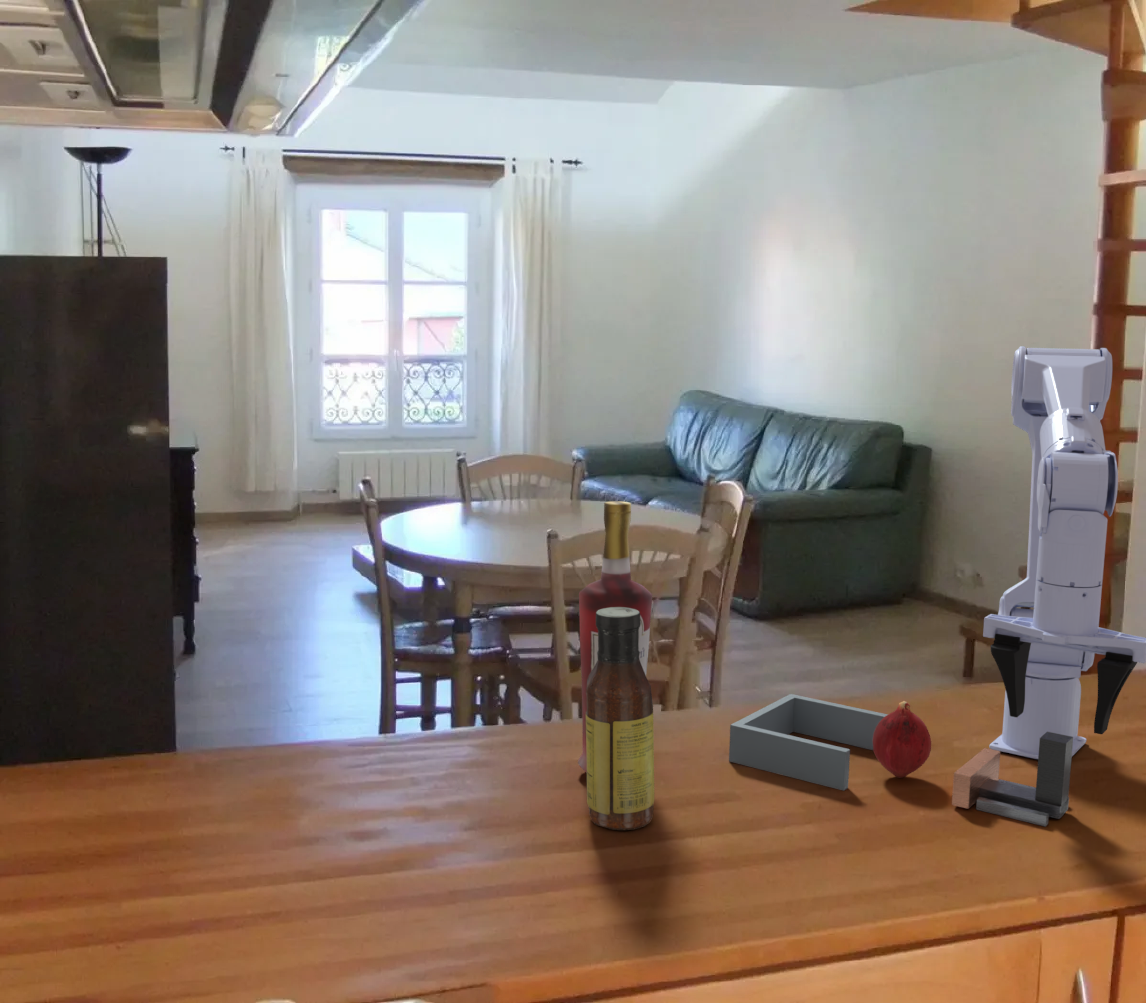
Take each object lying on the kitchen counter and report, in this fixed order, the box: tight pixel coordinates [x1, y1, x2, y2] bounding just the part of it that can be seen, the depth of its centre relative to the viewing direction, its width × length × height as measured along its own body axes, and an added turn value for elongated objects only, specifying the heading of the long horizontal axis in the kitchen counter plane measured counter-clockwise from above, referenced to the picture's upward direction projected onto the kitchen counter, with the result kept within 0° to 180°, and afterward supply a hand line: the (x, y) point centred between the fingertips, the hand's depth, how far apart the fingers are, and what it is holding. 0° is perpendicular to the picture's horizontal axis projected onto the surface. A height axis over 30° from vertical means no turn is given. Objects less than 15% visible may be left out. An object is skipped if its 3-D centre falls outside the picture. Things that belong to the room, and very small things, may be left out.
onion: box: [872, 700, 932, 779], centre depth 126 cm, size 6×6×8 cm
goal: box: [728, 693, 889, 791], centre depth 132 cm, size 14×13×4 cm
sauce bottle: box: [586, 607, 655, 831], centre depth 113 cm, size 6×6×20 cm
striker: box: [951, 732, 1073, 820], centre depth 119 cm, size 9×9×7 cm
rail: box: [975, 778, 1050, 828], centre depth 120 cm, size 7×6×1 cm
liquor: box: [577, 500, 653, 774], centre depth 124 cm, size 7×7×28 cm
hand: (1057, 722), depth 117 cm, fingers open, 7 cm apart
